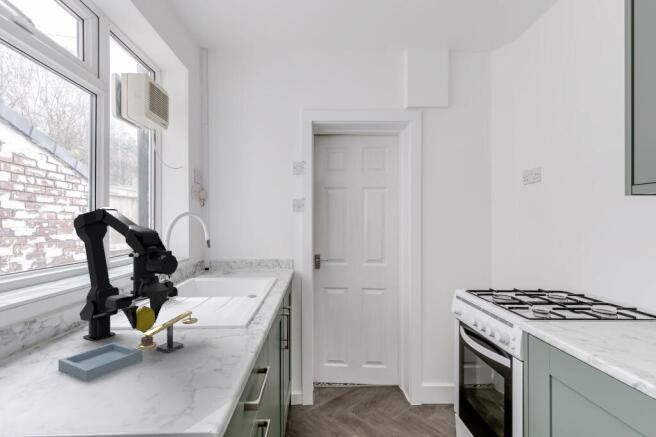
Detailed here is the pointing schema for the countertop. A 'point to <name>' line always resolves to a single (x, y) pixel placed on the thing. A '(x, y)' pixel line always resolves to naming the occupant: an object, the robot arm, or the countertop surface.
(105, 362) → the dish
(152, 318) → the lemon
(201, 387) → the countertop surface
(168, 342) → the balance
